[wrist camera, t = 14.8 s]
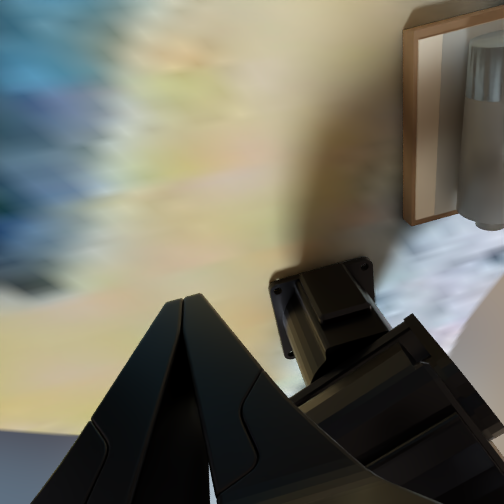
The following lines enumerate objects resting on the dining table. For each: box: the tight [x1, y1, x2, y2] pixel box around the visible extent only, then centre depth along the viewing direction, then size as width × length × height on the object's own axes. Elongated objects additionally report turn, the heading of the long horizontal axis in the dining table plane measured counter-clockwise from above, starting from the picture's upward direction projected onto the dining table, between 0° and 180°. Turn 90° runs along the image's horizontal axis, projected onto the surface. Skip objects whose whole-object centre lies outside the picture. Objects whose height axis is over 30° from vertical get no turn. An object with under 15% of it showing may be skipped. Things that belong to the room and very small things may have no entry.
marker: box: [456, 30, 504, 231], centre depth 19 cm, size 9×3×3 cm, turn 12°
